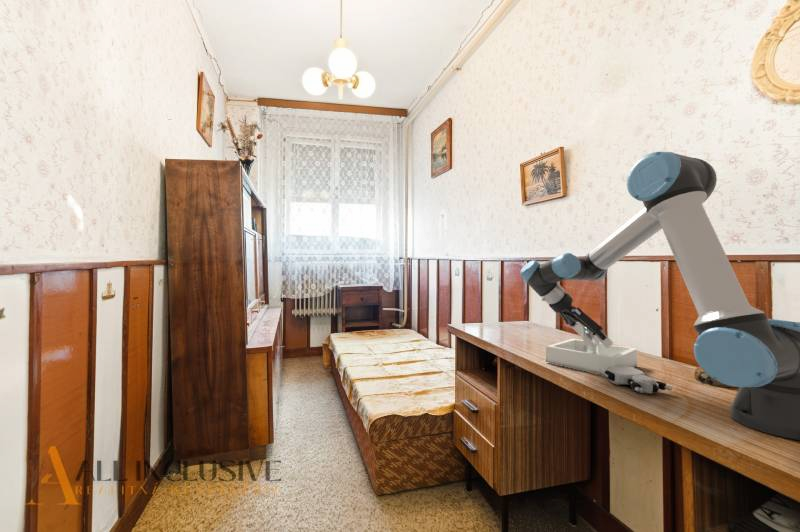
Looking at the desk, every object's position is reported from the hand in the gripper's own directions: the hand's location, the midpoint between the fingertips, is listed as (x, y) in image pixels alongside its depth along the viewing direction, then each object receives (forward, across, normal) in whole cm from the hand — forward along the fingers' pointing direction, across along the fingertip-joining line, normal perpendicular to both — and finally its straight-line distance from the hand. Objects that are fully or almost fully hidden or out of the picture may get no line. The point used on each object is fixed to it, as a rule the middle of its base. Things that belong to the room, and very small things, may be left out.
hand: (597, 341), depth 127 cm
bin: (+4, 0, -7) cm, 8 cm away
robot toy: (+3, +24, -9) cm, 26 cm away
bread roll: (+24, +19, +12) cm, 33 cm away
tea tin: (+3, 0, -7) cm, 8 cm away
